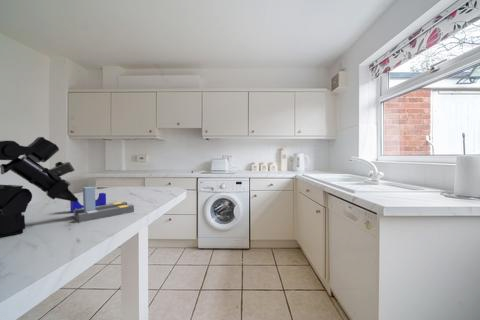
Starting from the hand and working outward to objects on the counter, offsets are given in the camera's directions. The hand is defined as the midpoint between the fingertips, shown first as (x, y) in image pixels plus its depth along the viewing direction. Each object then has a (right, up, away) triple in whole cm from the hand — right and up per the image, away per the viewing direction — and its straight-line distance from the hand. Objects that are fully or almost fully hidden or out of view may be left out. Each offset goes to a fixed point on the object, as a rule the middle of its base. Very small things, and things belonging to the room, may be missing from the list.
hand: (76, 200), depth 79 cm
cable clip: (-6, -6, +14) cm, 16 cm away
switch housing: (+6, -6, +6) cm, 11 cm away
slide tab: (+3, -5, +3) cm, 6 cm away
